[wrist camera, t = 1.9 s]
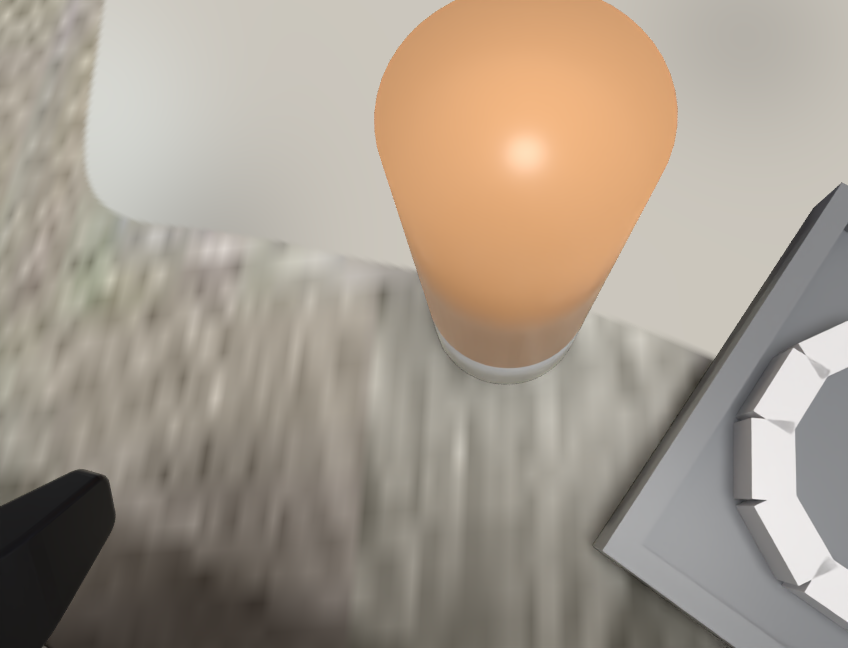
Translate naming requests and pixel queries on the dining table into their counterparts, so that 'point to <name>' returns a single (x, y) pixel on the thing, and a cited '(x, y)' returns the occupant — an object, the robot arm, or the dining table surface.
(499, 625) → the dining table surface
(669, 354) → the dining table surface
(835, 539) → the housing
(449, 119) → the peach bulb knob
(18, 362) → the dining table surface
